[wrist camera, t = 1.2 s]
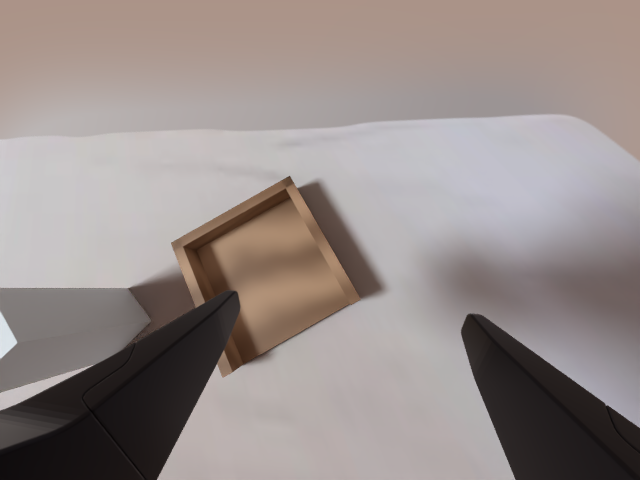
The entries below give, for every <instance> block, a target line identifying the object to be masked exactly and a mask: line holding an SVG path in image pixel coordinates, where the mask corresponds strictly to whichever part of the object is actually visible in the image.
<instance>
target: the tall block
mask: <svg viewBox="0 0 640 480" xmlns="http://www.w3.org/2000/svg"><path fill="white" fill-rule="evenodd" d="M150 322H151V319H150V318H149V316H148V315H147V314H146V312H145V311H144V310H143V308H142V307H141V306H140V304H139V303H138V301H137V300H136V299H135V297H134V296H133V295H132V293H131V292H130V291H129V289H128V288H0V393H1V392H4V391H7V390H11V389H14V388H17V387H21V386H24V385H27V384H30V383H34V382H37V381H40V380H44V379H47V378H50V377H54V376H57V375H60V374H64V373H67V372H70V371H74V370H77V369H80V368H84V367H87V366H90V365H94V364H97V363H99V362H101V361H103V360H105V359H107V358H108V357H110V356H112V355H114V354H116V353H117V352H119V351H121V350H123V349H124V348H125V347H126V346H127V345H128V344H129V343H130V342H131V341H132V340H133V339H134V338H135V337H136V336H137V335H138V334H139V333H140V332H141V331H142V330H143V329H144V328H145V327H146V326H147V325H148V324H149V323H150Z"/></svg>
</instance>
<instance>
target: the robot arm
mask: <svg viewBox="0 0 640 480" xmlns="http://www.w3.org/2000/svg"><path fill="white" fill-rule="evenodd" d="M240 308H241V306H240V300H239V295H238V292H237V291H234V290H226V291H224V292H223V293H221V294H219V295H217V296H216V297H214V298H212V299H210V300H209V301H207V302H205V303H203V304H202V305H200V306H198V307H196V308H195V309H193V310H191V311H189V312H188V313H186V314H184V315H182V316H181V317H179V318H177V319H175V320H174V321H172V322H170V323H168V324H167V325H165V326H163V327H161V328H160V329H158V330H156V331H154V332H153V333H151V334H149V335H147V336H146V337H144V338H142V339H140V340H139V341H137V343H133V344H132V345H130V346H128V347H126V348H125V349H123V350H121V351H119V352H117V353H116V354H114V355H112V356H110V357H108V358H107V359H105V360H103V361H101V362H99V363H97V364H95V365H93V366H92V367H90V368H88V369H86V370H84V371H82V372H80V373H78V374H76V375H74V376H72V377H70V378H68V379H66V380H64V381H62V382H60V383H58V384H56V385H54V386H52V387H50V388H48V389H46V390H44V391H42V392H40V393H39V394H37V395H35V396H33V397H31V398H29V399H27V400H25V401H22V402H20V403H18V404H16V405H14V406H11V407H9V408H6V409H3V410H1V411H0V480H157V478H158V476H159V474H160V473H161V471H162V469H163V467H164V465H165V463H166V461H167V459H168V457H169V455H170V453H171V451H172V449H173V447H174V446H175V444H176V442H177V440H178V438H179V436H180V434H181V432H182V430H183V428H184V426H185V424H186V422H187V420H188V419H189V417H190V415H191V413H192V411H193V409H194V407H195V405H196V403H197V401H198V399H199V397H200V395H201V393H202V392H203V390H204V388H205V386H206V384H207V382H208V380H209V378H210V376H211V374H212V372H213V370H214V368H215V366H216V365H217V363H218V361H219V359H220V357H221V355H222V353H223V351H224V349H225V347H226V345H227V342H228V340H229V338H230V335H231V333H232V330H233V327H234V325H235V322H236V320H237V317H238V315H239V312H240ZM461 335H462V339H463V342H464V345H465V349H466V352H467V356H468V359H469V363H470V366H471V369H472V373H473V376H474V379H475V381H476V384H477V386H478V389H479V391H480V394H481V396H482V399H483V401H484V403H485V406H486V408H487V411H488V413H489V416H490V418H491V421H492V423H493V425H494V428H495V430H496V433H497V435H498V438H499V440H500V443H501V445H502V448H503V450H504V452H505V455H506V457H507V460H508V462H509V465H510V467H511V470H512V472H513V475H514V477H515V479H516V480H640V428H639V427H637V426H636V425H635V424H633V423H632V422H630V421H629V420H628V419H626V418H625V417H623V416H622V415H621V414H619V413H618V412H616V411H615V410H614V409H612V408H611V407H609V406H606V405H605V403H604V402H602V401H601V400H600V399H598V398H597V397H595V396H594V395H593V394H591V393H590V392H588V391H587V390H586V389H584V388H583V387H581V386H580V385H579V384H577V383H576V382H575V381H573V380H572V379H570V378H569V377H568V376H566V375H565V374H563V373H562V372H561V371H559V370H558V369H556V368H555V367H554V366H552V365H551V364H549V363H548V362H547V361H545V360H544V359H542V358H541V357H540V356H538V355H537V354H535V353H534V352H533V351H531V350H530V349H529V348H527V347H526V346H524V345H523V344H522V343H520V342H519V341H517V340H516V339H515V338H513V337H512V336H510V335H509V334H508V333H506V332H505V331H503V330H502V329H501V328H499V327H498V326H496V325H495V324H494V323H492V322H491V321H490V320H488V319H487V318H485V317H484V316H482V315H480V314H468V315H467V317H466V319H465V322H464V324H463V327H462V330H461Z"/></svg>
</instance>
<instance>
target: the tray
mask: <svg viewBox="0 0 640 480" xmlns="http://www.w3.org/2000/svg"><path fill="white" fill-rule="evenodd" d="M171 244H172V247H173V250H174V252H175V255H176V257H177V260H178V263H179V265H180V268H181V270H182V273H183V276H184V278H185V281H186V283H187V286H188V289H189V291H190V294H191V296H192V299H193V302H194V304H195V307H198V306H200V305H202V304H203V303H205V302H207V301H209V300H210V299H212V298H214V297H216V296H217V295H219V294H221V293H223V292H224V291H226V290H234V291H237V292H238V295H239V300H240V306H241V308H240V312H239V315H238V317H237V320H236V322H235V325H234V327H233V330H232V333H231V335H230V338H229V340H228V342H227V345H226V347H225V349H224V351H223V353H222V355H221V357H220V359H219V361H218V363H217V364H218V367H219V369H220V372H221V375H222V377H225V376H227V375H228V374H230V373H232V372H233V371H235V370H236V369H237V368H239V367H240V366H242V365H243V364H244V363H246V362H248V361H250V360H251V359H253V358H255V357H257V356H259V355H260V354H262V353H264V352H266V351H267V350H269V349H271V348H273V347H274V346H276V345H278V344H280V343H281V342H283V341H285V340H287V339H288V338H290V337H292V336H294V335H296V334H297V333H299V332H301V331H303V330H304V329H306V328H308V327H310V326H311V325H313V324H315V323H317V322H318V321H320V320H322V319H324V318H325V317H327V316H329V315H331V314H332V313H334V312H336V311H338V310H340V309H341V308H343V307H345V306H347V305H348V304H351V305H352V304H353V303H355V302H357V301H359V300H360V297H359V295H358V294H357V292H356V290H355V288H354V287H353V285H352V283H351V281H350V280H349V278H348V276H347V274H346V273H345V271H344V269H343V268H342V266H341V264H340V262H339V261H338V259H337V257H336V255H335V254H334V252H333V250H332V248H331V247H330V245H329V243H328V241H327V240H326V238H325V236H324V235H323V233H322V231H321V229H320V228H319V226H318V224H317V222H316V221H315V219H314V217H313V215H312V214H311V212H310V210H309V208H308V207H307V205H306V203H305V202H304V200H303V198H302V196H301V195H300V193H299V191H298V189H297V188H296V186H295V184H294V182H293V181H292V179H291V177H290V176H289V177H287V178H285V179H283V180H282V181H280V182H278V183H276V184H275V185H273V186H271V187H269V188H267V189H266V190H264V191H262V192H260V193H259V194H257V195H255V196H253V197H251V198H250V199H248V200H246V201H244V202H243V203H241V204H239V205H237V206H236V207H234V208H232V209H230V210H228V211H227V212H225V213H223V214H221V215H220V216H218V217H216V218H214V219H213V220H211V221H209V222H207V223H205V224H204V225H202V226H200V227H198V228H197V229H195V230H193V231H191V232H189V233H188V234H186V235H184V236H182V237H181V238H179V239H177V240H175V241H174V242H172V243H171Z"/></svg>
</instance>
